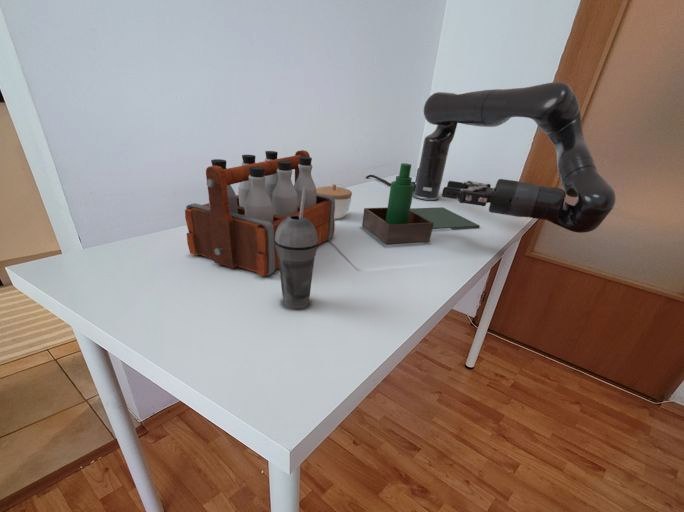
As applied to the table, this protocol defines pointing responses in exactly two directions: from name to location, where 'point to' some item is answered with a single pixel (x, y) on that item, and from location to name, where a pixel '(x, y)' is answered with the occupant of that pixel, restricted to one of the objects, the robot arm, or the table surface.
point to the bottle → (400, 197)
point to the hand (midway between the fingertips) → (445, 188)
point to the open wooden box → (397, 227)
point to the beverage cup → (296, 257)
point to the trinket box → (337, 199)
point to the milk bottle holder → (255, 210)
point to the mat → (444, 218)
